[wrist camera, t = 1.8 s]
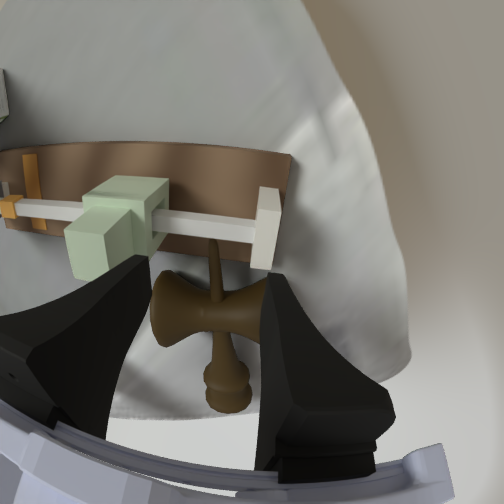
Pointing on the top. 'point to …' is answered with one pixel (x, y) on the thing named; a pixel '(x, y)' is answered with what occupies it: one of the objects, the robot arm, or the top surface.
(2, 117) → the syrup box
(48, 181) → the board
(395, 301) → the top surface
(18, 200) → the linear slide rail
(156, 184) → the sleeve
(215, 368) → the kendama
